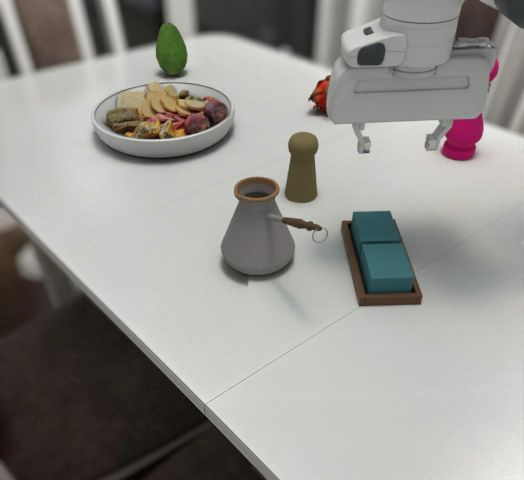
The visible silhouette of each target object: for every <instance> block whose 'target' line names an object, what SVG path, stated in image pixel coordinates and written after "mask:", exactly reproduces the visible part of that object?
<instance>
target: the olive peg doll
mask: <svg viewBox="0 0 524 480" xmlns="http://www.w3.org/2000/svg"><path fill="white" fill-rule="evenodd" d="M287 148H288V153H289V154H290V158H289V164H288V170H287V176H286V182H285V187H284V197H285V198H286V199H287V200H289V201H290V202H293V203H297V204H304V203H310V202H313V201H314V200H316V199H317V197H318V184H317V183H318V182H317V171H316V169H317V167H316V154H317V153H318V151H319V140H318V137H317V136H316V134H313V133H311V132H309V131H299V132H298V131H297V132H295V133H293V134H292V135H291V136H290V137H289V139H288V142H287Z"/></svg>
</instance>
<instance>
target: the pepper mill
mask: <svg viewBox="0 0 524 480" xmlns="http://www.w3.org/2000/svg"><path fill="white" fill-rule="evenodd" d="M488 46H491V45H488ZM488 46H487V47H488ZM499 69H500V63H499V60H498V58H497V57H496V61H495V65H494V68H493V69H492V71H491V72H490V76H489V86H488V93H487V95H489V93H490V89H491V88H492V84H491V82H492V81H494V79H496V77H497V76H498V73H499ZM484 126H485V125H484V118H483V112H482V113H481V114H480V115H479V116H478V117H477V118H474V119H454V120H453V124H452V127H451V128H450V130H449V131H448V132H447V133H446V134H445V135H444V137H445V139H446V140H444V142H443V145H442V149H441V152H442V154H443V155H444V156H445V157H447V158H449V159H452V160H454V161H455V160H456V161H467V160H470V159H472V158H473V157H474V156H475V153H476V149H477V145H476V144H477V143H478V142H480V140H482V138H483V135H484V129H485V127H484Z"/></svg>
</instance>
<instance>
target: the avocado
mask: <svg viewBox="0 0 524 480" xmlns="http://www.w3.org/2000/svg"><path fill="white" fill-rule="evenodd" d="M187 49H188V48H187V45H186V43H185V40H184V38H183V36H182V34H181V31H180V30H179V29H178V27H177V26H176V25H175V24H173V23H172V22H169V21H166V22H164V23H163V24H161V26H160V28H159V30H158V34H157V39H156V44H155V59H156V61H157V63H158V66H159V68H161V70H162V71H163V72H164V73H165V74H166V75H169V76H178V75H180V74H181V73H182V72H183V71H184V69H185V68H186V67H187V64H188V58H189V57H188V50H187Z"/></svg>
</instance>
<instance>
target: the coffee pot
mask: <svg viewBox="0 0 524 480" xmlns="http://www.w3.org/2000/svg"><path fill="white" fill-rule="evenodd" d="M280 190H281V187H280V185H279V183H278V182H277V181H276V180H274V179H272V178H269V177H265V176H258V175H257V176H248V177H245V178H241V180H239V181H237V183H235V185H234V188H233V195H234V197H235V198H236V199H237V201H238V203H237V205H236V208H235V209H234V212H233V214H232V217H231V219H230V221H229V224H228V226H227V229H226V231H225V233H224V236H223V238H222V240H221V244H220V252H221V255H222V257H223V258H224V261H226V264H228V265H229V266H230V267H231V268H232V269H234V270H236V271H237V272H239V273H241V274H243V275H245V276H265V275H270V274H274V273H276V272H278V271H280V270H282V269H283V268H284V267H285V266H286V265H288V264H289V263H290V261H291V260H292V258H293V256H294V254H295V251H296V242H295V240H294V237H293V235H292V232H291V231H290V229H289V227H288V226H290V227H292V228H294V229H298V230H306V231H307V232H312V234H311V239H312V241H313V242H314V243H317V244H320V243H323V242H325V241H326V240H327V238H328V237H329V231H328V229H327V228H325V227H323V226H321V225H319V224H318V223H314V222H313V221H312V220H309V221H306V220H304V219H303V218H296V217H289V216H288V217H287V216H283V214H282V211H281V210H280V208H279V206H278V203H277V201H276V198H277V197H278V195H279V194H280ZM322 230H325V232H326V236H325V237H324V239H321V241H316V240H315V238H314V236H315V233H316V232H320V231H322Z"/></svg>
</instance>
